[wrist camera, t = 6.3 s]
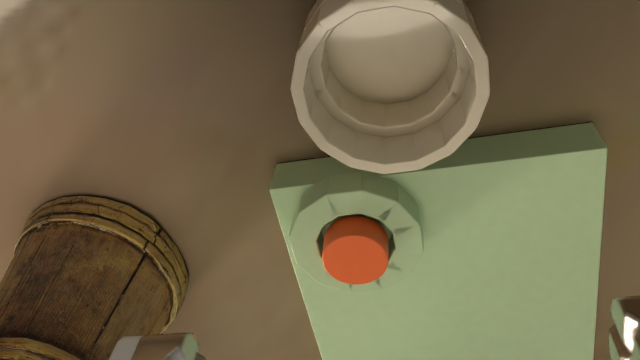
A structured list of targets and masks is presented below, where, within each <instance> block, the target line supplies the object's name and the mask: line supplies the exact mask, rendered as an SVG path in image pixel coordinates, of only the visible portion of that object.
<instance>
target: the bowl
mask: <svg viewBox="0 0 640 360" xmlns="http://www.w3.org/2000/svg"><path fill="white" fill-rule="evenodd" d="M290 88H291V94H292V98H293V102H294V106H295V110H296V114H297V117H298V121H299V123H300V124H301V126H302V127H303V128H304V130H305V131H306V132H307V133H308V135H309V136H310V137H311V139H312V140H313V141H314V142H315V144H316V145H317V146H318V148H319V149H320V150H322V151H323V152H325V153H327V154H328V155H330V156H332V157H333V158H335V159H337V160H338V161H340V162H342V163H343V164H345V165H347V166H348V167H349V166H350V167H351V168H356V169H361V170H366V171H371V172H376V173H381V174H389V173H398V172H406V171H414V170H419V169H422V168H424V167H426V166H428V165H431V164H433V163H435V162H437V161H439V160H441V159H443V158H445V157H447V156H449V155H451V154H452V153H453V152H454V151H455V150H456V149H457V148H458V147H459V146H460V145H461V144H462V143H463V142H464V141H465V140H466V139H467V138H468V137H469V136H470V135H471V134H472V133H473V132H474V131H475V130H476V128H477V127H478V124H479V122H480V119H481V117H482V114H483V112H484V109H485V107H486V104H487V102H488V99H489V97H490V79H489V62H488V57H487V54H486V51H485V48H484V45H483V43H482V40H481V37H480V35H479V32H478V29H477V26H476V24H475V21H474V18H473V15H472V13H471V12H470V10H469V8H468V6H467V4H466V2H465V1H464V0H317V1H316V3H315V4H314V6H313V7H312V9H311V10H310V12H309V15H308V17H307V20H306V24H305V27H304V30H303V34H302V37H301V40H300V43H299V46H298V50H297V53H296V58H295V63H294V69H293V75H292V81H291V86H290Z"/></svg>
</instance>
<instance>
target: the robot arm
mask: <svg viewBox="0 0 640 360" xmlns="http://www.w3.org/2000/svg"><path fill="white" fill-rule="evenodd" d="M611 315H612V318H613V320H614V322H615V324H614V325H613V326H612V327H611V328H610V329H609V350H610V357H611V360H640V296H629V297H618V298H614V299H613V301H612V303H611ZM198 346H199V343H198V341H197V339H196V337H195V335H194V334H193V333H172V334H153V335H141V336H124V337H122V338H121V339H120V340H119V341H118V342H117V343H116V345H115V348H114V350H113V352H112V354H111V356H110V358H109V360H207V359H206V358H205V357H203V356H202V355H200V354H199V353H197V349H198Z"/></svg>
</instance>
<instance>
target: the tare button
mask: <svg viewBox="0 0 640 360" xmlns="http://www.w3.org/2000/svg"><path fill="white" fill-rule="evenodd" d="M388 262H389V248H388V236H387V233H386V231H385V230H384V228H383V227H382V226H381V225H380V224H379V223H377V222H376V221H374V220H372V219H370V218H367V217H363V216H348V217H344V218H341V219H338V220H337V221H335V222H334V223H332V224H331V225H330V226H329V228H328V229H327V231H326V233H325V236H324V244H323V252H322V263H323V266H324V268H325V270H326V271H327V272H328V273H329V274H330V275H331V276H332V277H333V278H335V279H336V280H338V281H340V282H343V283H347V284H354V285H360V284H366V283H370V282H373V281H375V280H376V279H378V278H379V277H381V276H382V275H383V274H384V272H385V271H386V269H387V267H388Z"/></svg>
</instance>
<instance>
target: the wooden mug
mask: <svg viewBox="0 0 640 360" xmlns="http://www.w3.org/2000/svg"><path fill="white" fill-rule="evenodd" d="M188 278H189V276H188V274H187V271H186V268H185V265H184V260H183V258H182V256H181V254H180V251H179V249H178V247H177V246H176V245H175V244H174V243H173V241H172V240H171V239H170V238H169V236H168V235H167V234H166V233H165V232H164V231H163V230H162V229H161V228H160V227H159V226H158V225H157V224H156V223H155V222H154V221H153V220H152V219H150V218H148V217H147V216H145V215H143V214H142V213H140V212H138V211H137V210H135V209H134V208H132V207H130V206H128V205H125V204H122V203H119V202H115V201H112V200H109V199H106V198H97V197H89V196H73V197H62V198H59V199H56V200H53V201H50V202H47V203H45V204H43V205H42V206H41V207H39V208H38V209H37V210H35V211H34V212H33V213H31V214H30V216H29V218H28V220H27V222H26V223H25V225H24V227H23V229H22V231H21V234H20V236H19V238H18V240H17V243H16V245H15V247H14V254H13V259H12V261H11V263H10V265H9V267H8V269H7V271H6V273H5V275H4V277H3V279H2V281H1V283H0V360H109V358H110V356H111V354H112V352H113V350H114V348H115V345H116V343H117V342H118V341H119V340H120V339H121V338H122V337H124V336H141V335H153V334H160V333H162V332H164V331H165V330H166V329H167V327H168V326H169V325H170V324H171V322H172V321H173V320H174V319H175V317H176V315H177V313H178V311H179V309H180V307H181V305H182V303H183V301H184V298H185V293H186V288H187V283H188Z"/></svg>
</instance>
